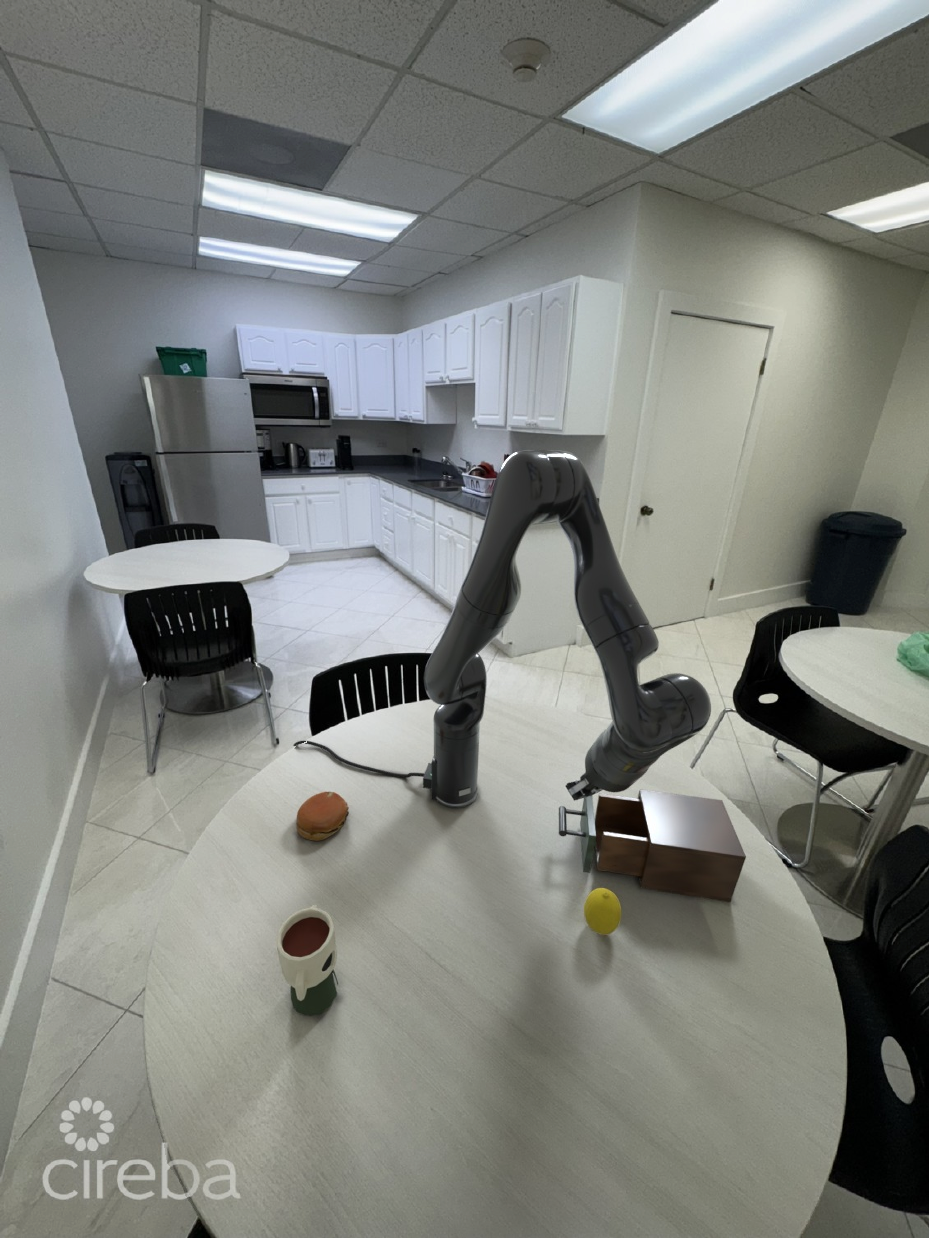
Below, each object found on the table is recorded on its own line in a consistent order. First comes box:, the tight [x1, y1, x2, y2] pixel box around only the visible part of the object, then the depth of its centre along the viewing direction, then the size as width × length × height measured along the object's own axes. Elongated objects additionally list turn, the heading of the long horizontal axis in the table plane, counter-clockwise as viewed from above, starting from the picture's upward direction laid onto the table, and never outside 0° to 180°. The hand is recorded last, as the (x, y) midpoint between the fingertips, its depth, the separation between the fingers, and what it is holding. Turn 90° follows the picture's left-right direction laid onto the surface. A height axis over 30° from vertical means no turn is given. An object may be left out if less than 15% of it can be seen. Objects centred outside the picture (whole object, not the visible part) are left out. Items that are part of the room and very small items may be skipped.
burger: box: [295, 791, 350, 842], centre depth 96 cm, size 10×9×5 cm
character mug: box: [276, 904, 339, 1017], centre depth 66 cm, size 11×7×13 cm, turn 5°
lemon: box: [583, 887, 622, 936], centre depth 77 cm, size 6×6×8 cm
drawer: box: [558, 792, 650, 877], centre depth 89 cm, size 18×11×9 cm, turn 80°
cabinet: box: [637, 788, 747, 903], centre depth 87 cm, size 15×13×11 cm
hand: (589, 789), depth 83 cm, fingers closed
